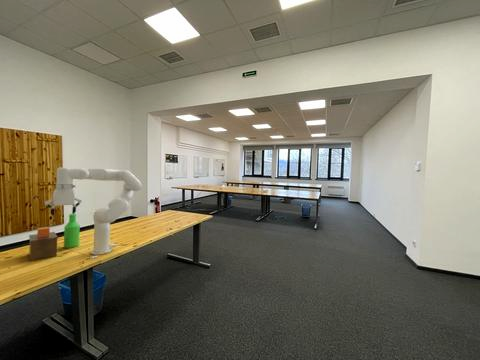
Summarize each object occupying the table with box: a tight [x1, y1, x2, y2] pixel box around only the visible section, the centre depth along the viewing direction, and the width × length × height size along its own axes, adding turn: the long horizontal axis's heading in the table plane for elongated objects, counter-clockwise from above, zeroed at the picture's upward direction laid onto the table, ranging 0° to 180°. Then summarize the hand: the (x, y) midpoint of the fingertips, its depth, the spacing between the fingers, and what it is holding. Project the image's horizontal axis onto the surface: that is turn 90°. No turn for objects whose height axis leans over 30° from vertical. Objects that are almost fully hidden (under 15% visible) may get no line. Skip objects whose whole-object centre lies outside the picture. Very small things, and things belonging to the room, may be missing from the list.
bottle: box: [63, 213, 81, 249], centre depth 149 cm, size 9×9×25 cm
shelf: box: [28, 231, 59, 262], centre depth 132 cm, size 13×16×13 cm
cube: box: [36, 226, 51, 238], centre depth 132 cm, size 5×5×5 cm
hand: (63, 214), depth 123 cm, fingers open, 9 cm apart
